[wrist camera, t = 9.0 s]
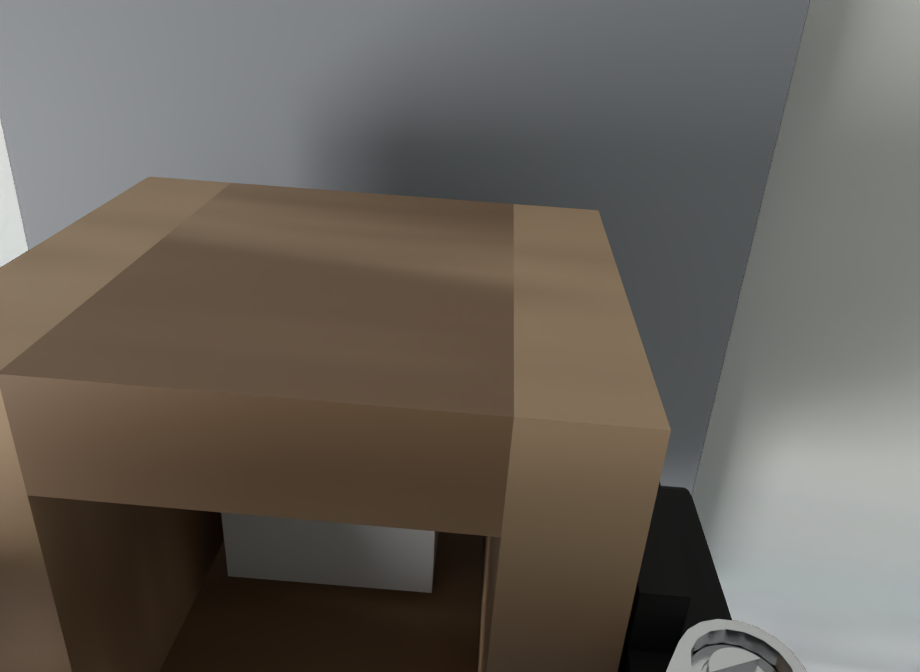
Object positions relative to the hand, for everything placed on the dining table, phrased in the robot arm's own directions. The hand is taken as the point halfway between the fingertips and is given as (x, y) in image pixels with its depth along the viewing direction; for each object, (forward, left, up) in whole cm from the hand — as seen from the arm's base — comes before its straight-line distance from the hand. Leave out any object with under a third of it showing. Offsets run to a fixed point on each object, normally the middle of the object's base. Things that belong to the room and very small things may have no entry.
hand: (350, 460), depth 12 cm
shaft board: (0, 0, -6) cm, 6 cm away
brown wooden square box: (0, 0, -2) cm, 2 cm away
